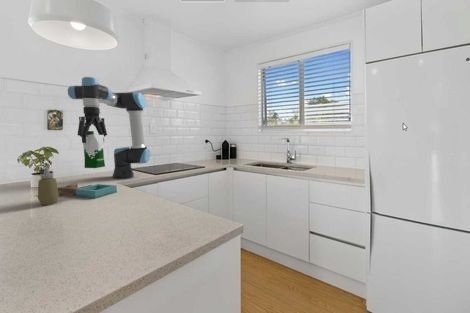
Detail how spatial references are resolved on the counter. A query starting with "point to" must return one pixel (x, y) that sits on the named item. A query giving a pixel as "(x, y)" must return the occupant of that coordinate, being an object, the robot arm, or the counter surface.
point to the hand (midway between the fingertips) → (94, 148)
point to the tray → (96, 191)
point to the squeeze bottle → (47, 188)
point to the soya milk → (94, 151)
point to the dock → (69, 190)
